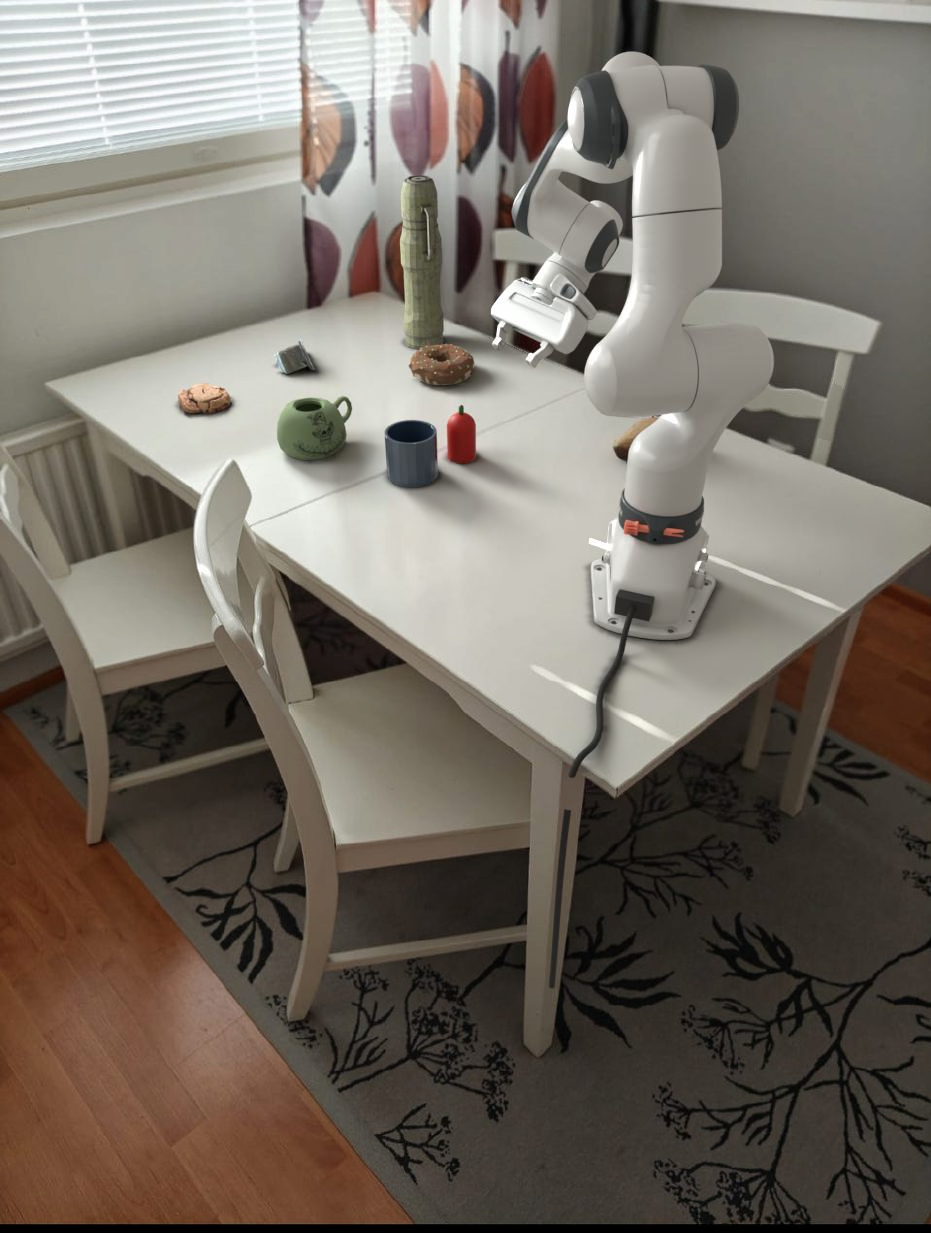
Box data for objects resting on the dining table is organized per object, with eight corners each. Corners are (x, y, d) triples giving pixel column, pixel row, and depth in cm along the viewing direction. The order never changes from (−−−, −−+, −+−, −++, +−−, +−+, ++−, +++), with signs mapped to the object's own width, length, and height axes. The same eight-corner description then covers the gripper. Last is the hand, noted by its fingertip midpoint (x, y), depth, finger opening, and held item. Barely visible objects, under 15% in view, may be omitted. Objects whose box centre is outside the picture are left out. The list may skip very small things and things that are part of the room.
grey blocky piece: (273, 356, 220) (263, 335, 208) (303, 344, 221) (294, 322, 209) (290, 394, 219) (281, 375, 208) (320, 382, 220) (312, 362, 208)
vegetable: (645, 469, 172) (634, 411, 170) (606, 473, 182) (596, 418, 180) (712, 450, 179) (703, 395, 177) (671, 455, 189) (662, 402, 187)
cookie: (226, 414, 197) (223, 400, 195) (172, 414, 197) (169, 400, 195) (236, 393, 205) (234, 379, 203) (185, 392, 205) (182, 379, 203)
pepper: (471, 464, 180) (471, 413, 174) (444, 461, 181) (443, 409, 175) (478, 451, 184) (478, 400, 178) (451, 448, 185) (450, 397, 179)
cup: (429, 490, 173) (428, 446, 168) (380, 484, 175) (377, 440, 170) (443, 465, 180) (442, 422, 175) (396, 459, 182) (393, 417, 177)
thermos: (427, 329, 231) (421, 168, 210) (454, 345, 223) (452, 180, 202) (394, 337, 227) (385, 174, 206) (421, 354, 220) (414, 187, 198)
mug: (305, 471, 179) (300, 427, 173) (264, 447, 186) (258, 404, 181) (374, 442, 187) (371, 399, 182) (332, 420, 195) (328, 378, 189)
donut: (412, 362, 217) (411, 340, 213) (475, 362, 216) (475, 340, 213) (406, 390, 205) (405, 367, 202) (473, 391, 205) (473, 368, 202)
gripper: (509, 264, 181) (467, 329, 183) (586, 296, 168) (540, 365, 170) (527, 283, 186) (486, 346, 187) (603, 315, 173) (558, 383, 174)
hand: (512, 356), depth 178 cm, fingers open, 8 cm apart
